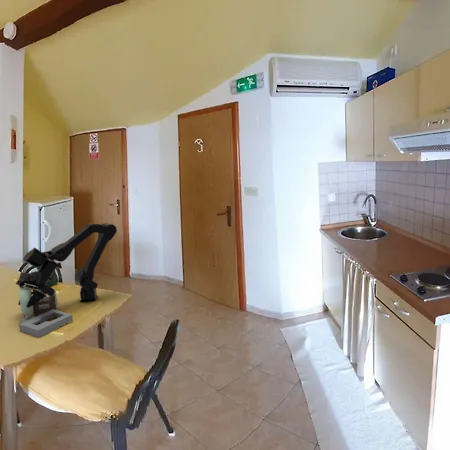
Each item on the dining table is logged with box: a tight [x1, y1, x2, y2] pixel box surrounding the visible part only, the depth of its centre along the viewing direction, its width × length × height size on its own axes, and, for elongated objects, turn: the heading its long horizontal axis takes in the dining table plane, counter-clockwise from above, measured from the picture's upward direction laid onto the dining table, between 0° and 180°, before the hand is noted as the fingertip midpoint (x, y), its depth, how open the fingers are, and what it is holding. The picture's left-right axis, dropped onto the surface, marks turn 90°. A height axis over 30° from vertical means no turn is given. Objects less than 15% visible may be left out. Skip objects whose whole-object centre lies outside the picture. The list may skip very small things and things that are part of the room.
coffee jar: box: [36, 250, 58, 287], centre depth 183 cm, size 10×8×19 cm
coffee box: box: [32, 288, 58, 317], centre depth 154 cm, size 9×6×16 cm
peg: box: [18, 287, 34, 323], centre depth 142 cm, size 5×5×14 cm
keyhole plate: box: [18, 309, 74, 338], centre depth 138 cm, size 15×12×3 cm
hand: (23, 306), depth 141 cm, fingers open, 5 cm apart
